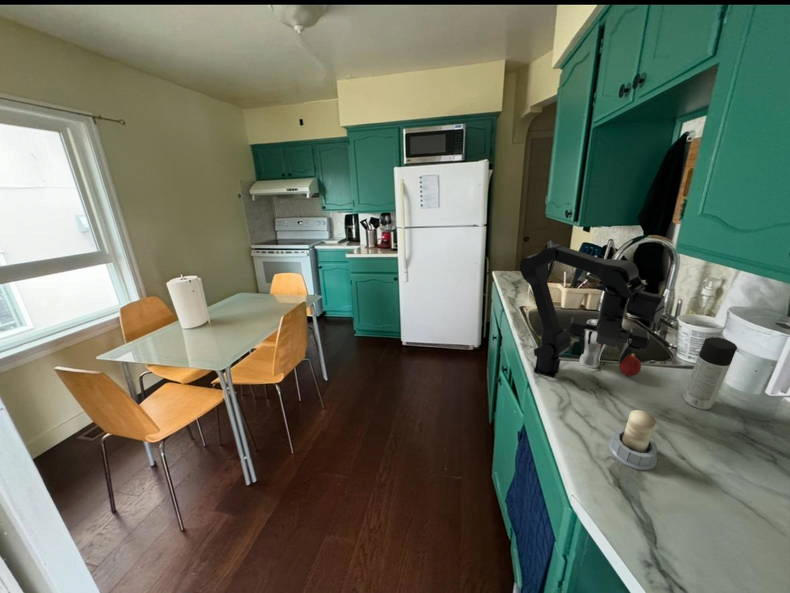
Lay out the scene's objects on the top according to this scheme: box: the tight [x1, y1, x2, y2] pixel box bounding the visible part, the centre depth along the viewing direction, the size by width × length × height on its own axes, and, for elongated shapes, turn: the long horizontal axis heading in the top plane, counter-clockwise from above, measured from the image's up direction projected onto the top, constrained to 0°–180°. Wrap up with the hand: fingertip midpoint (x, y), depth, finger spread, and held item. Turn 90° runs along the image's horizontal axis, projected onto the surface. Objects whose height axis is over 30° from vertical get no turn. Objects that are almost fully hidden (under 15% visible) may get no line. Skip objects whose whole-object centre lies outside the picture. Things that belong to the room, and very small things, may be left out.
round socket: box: [607, 427, 658, 471], centre depth 86 cm, size 10×10×4 cm
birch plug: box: [621, 409, 657, 453], centre depth 85 cm, size 5×5×10 cm
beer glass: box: [579, 318, 606, 369], centre depth 117 cm, size 7×7×15 cm
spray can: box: [682, 336, 738, 410], centre depth 98 cm, size 7×7×20 cm
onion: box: [618, 353, 642, 377], centre depth 112 cm, size 6×6×8 cm
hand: (600, 357), depth 101 cm, fingers open, 9 cm apart
